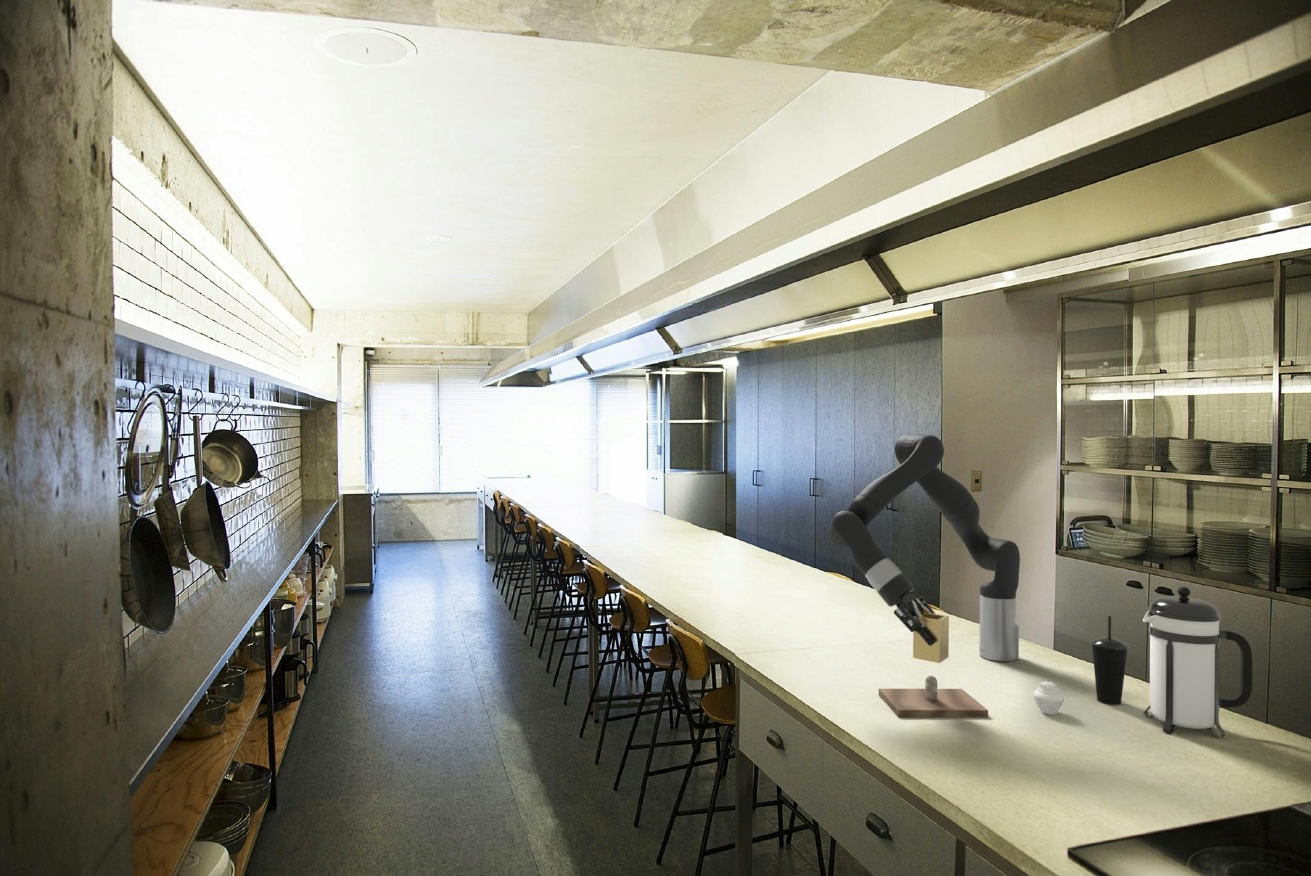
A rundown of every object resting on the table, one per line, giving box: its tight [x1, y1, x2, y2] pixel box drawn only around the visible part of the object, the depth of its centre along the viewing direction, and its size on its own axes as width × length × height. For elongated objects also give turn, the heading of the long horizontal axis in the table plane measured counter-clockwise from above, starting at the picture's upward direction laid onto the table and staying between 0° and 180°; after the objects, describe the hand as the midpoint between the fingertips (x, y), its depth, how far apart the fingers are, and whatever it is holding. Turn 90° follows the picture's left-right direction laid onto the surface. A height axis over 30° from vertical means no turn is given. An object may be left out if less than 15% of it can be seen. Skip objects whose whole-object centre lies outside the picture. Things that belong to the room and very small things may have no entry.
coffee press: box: [1142, 586, 1253, 739], centre depth 160 cm, size 17×16×30 cm
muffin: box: [1032, 680, 1065, 716], centre depth 168 cm, size 6×6×7 cm
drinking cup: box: [1090, 615, 1130, 706], centre depth 175 cm, size 8×8×20 cm
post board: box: [878, 675, 989, 718], centre depth 172 cm, size 20×14×7 cm
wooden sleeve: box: [912, 612, 950, 664], centre depth 172 cm, size 6×6×10 cm
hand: (938, 640), depth 171 cm, fingers closed on wooden sleeve, 6 cm apart
